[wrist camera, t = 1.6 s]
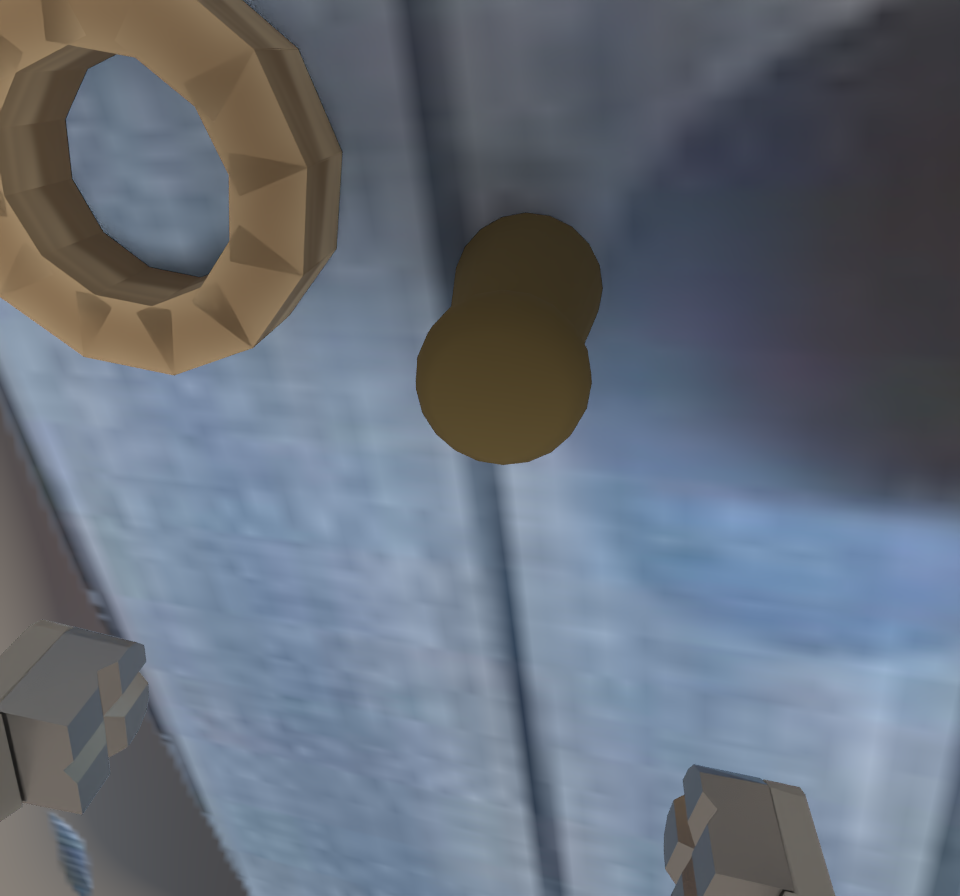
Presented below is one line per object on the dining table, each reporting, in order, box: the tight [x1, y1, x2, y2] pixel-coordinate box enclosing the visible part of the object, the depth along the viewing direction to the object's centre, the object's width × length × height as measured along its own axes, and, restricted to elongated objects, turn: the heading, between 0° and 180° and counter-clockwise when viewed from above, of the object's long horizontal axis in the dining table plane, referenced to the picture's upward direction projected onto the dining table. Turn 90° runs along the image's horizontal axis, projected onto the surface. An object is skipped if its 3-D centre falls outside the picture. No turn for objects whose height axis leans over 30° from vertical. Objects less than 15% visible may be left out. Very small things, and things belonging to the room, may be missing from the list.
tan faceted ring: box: [0, 0, 342, 375], centre depth 28 cm, size 14×14×4 cm
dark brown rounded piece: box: [416, 213, 603, 465], centre depth 25 cm, size 6×6×11 cm
